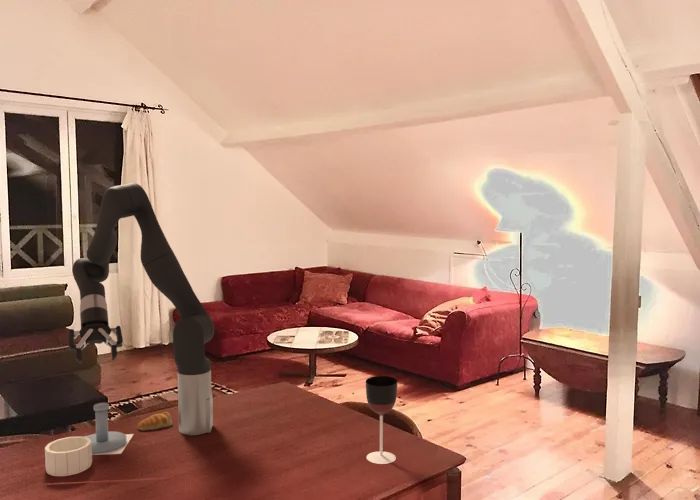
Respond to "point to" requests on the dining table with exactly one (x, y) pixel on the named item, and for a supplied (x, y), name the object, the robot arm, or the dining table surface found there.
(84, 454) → the cup
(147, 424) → the pastry
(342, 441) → the dining table surface
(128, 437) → the mat
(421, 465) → the dining table surface
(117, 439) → the lid
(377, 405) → the wineglass
